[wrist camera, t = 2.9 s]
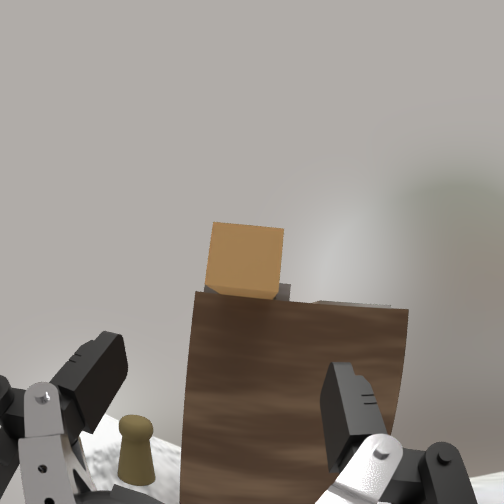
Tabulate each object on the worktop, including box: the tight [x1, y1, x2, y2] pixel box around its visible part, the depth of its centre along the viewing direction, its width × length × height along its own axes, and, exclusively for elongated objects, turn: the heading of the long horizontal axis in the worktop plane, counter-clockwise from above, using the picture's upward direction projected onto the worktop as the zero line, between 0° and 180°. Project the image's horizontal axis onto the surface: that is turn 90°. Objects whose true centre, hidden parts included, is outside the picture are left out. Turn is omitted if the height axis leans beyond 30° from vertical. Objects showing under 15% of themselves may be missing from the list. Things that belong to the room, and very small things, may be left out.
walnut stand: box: [180, 283, 409, 504], centre depth 28 cm, size 12×20×32 cm, turn 89°
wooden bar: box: [205, 222, 284, 300], centre depth 29 cm, size 22×4×4 cm, turn 179°
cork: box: [118, 415, 155, 486], centre depth 34 cm, size 6×6×11 cm
